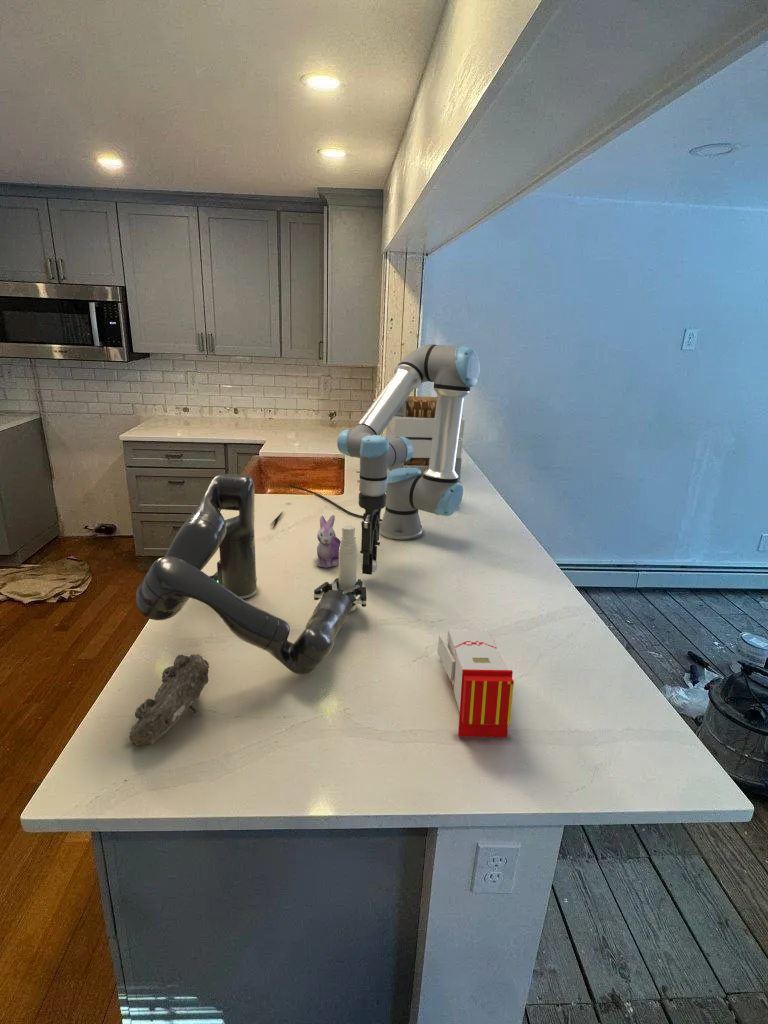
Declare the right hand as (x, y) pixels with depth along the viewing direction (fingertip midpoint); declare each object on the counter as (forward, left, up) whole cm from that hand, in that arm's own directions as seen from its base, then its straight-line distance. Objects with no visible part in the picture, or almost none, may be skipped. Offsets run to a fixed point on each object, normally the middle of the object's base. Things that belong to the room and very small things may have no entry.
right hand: (369, 569), depth 163 cm
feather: (-61, +7, -4) cm, 62 cm away
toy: (+52, -15, -4) cm, 54 cm away
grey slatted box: (-75, +93, -4) cm, 119 cm away
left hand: (+7, -12, +3) cm, 14 cm away
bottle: (+8, -14, -4) cm, 17 cm away
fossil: (+21, -65, -4) cm, 68 cm away
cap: (0, 0, +2) cm, 2 cm away
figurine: (-17, -2, -4) cm, 18 cm away
